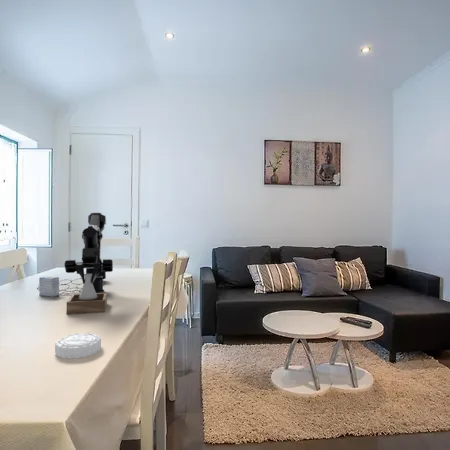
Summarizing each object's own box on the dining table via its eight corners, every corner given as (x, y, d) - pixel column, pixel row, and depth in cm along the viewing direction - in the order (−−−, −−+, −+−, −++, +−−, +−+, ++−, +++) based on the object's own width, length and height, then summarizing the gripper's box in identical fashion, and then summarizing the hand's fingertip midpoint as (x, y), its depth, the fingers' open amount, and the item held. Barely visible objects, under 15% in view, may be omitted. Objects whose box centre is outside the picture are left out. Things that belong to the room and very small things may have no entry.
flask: (97, 299, 139) (97, 275, 139) (78, 301, 136) (78, 276, 136) (97, 295, 146) (97, 272, 145) (79, 296, 143) (79, 273, 143)
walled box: (72, 305, 146) (72, 294, 146) (106, 303, 150) (106, 292, 149) (66, 314, 132) (66, 302, 132) (104, 312, 136) (104, 300, 136)
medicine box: (59, 295, 164) (59, 277, 164) (51, 297, 160) (52, 278, 159) (46, 293, 166) (46, 275, 166) (38, 295, 162) (39, 277, 162)
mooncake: (106, 343, 104) (106, 331, 104) (92, 359, 92) (92, 346, 92) (66, 343, 103) (66, 331, 103) (46, 359, 91) (46, 346, 91)
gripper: (65, 240, 142) (60, 271, 131) (112, 240, 147) (111, 270, 136) (68, 257, 149) (63, 287, 139) (113, 256, 154) (112, 286, 144)
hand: (87, 282), depth 140 cm, fingers closed on flask, 3 cm apart
